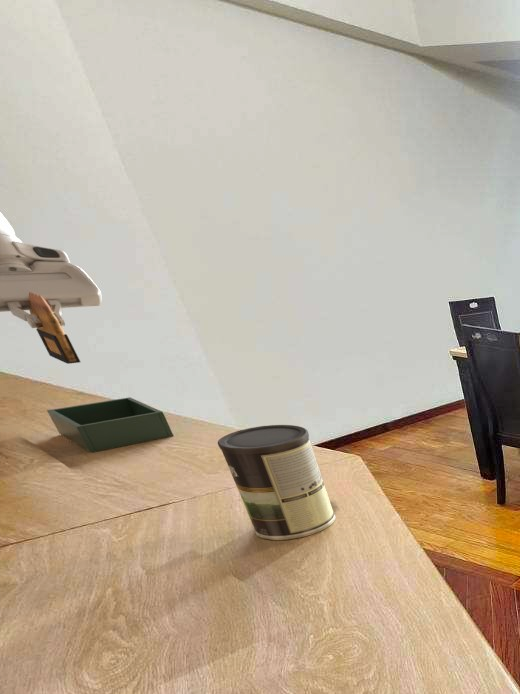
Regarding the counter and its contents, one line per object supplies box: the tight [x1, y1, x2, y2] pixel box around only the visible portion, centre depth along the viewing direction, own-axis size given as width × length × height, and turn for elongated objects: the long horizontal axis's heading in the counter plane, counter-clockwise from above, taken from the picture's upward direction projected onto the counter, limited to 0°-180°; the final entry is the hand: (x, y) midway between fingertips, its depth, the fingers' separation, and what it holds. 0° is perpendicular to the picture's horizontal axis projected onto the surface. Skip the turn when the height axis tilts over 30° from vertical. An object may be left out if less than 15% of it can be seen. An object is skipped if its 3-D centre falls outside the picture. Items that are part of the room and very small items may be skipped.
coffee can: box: [217, 424, 337, 541], centre depth 86 cm, size 10×10×14 cm
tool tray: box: [46, 396, 174, 453], centre depth 117 cm, size 13×17×5 cm
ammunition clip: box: [28, 292, 81, 365], centre depth 112 cm, size 11×2×12 cm, turn 58°
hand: (48, 324), depth 112 cm, fingers closed on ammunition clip, 2 cm apart
